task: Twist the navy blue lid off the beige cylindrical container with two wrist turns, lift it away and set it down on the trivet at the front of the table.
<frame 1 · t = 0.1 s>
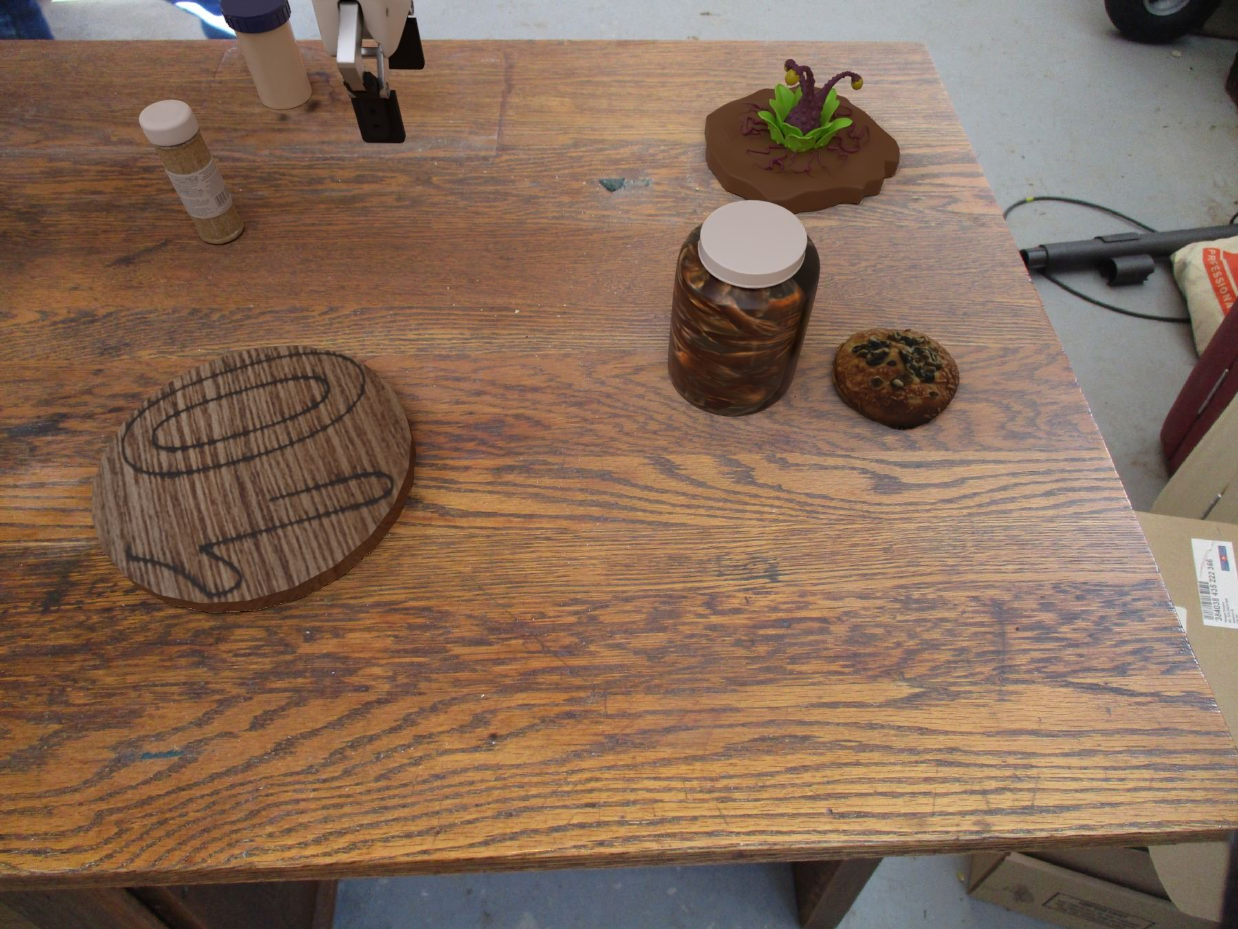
hand: (395, 102, 65), 19 cm above the table, tool pointing down, fingers open, 9 cm apart
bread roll: (890, 382, 75), on the table
spice bottle: (223, 233, 85), on the table
jar: (730, 366, 76), on the table
trivet: (264, 475, 69), on the table
lid: (254, 2, 90), point 11 cm above the table, screwed on, not yet turned
beige cylindrical container: (286, 94, 99), on the table
plant: (792, 158, 93), on the table
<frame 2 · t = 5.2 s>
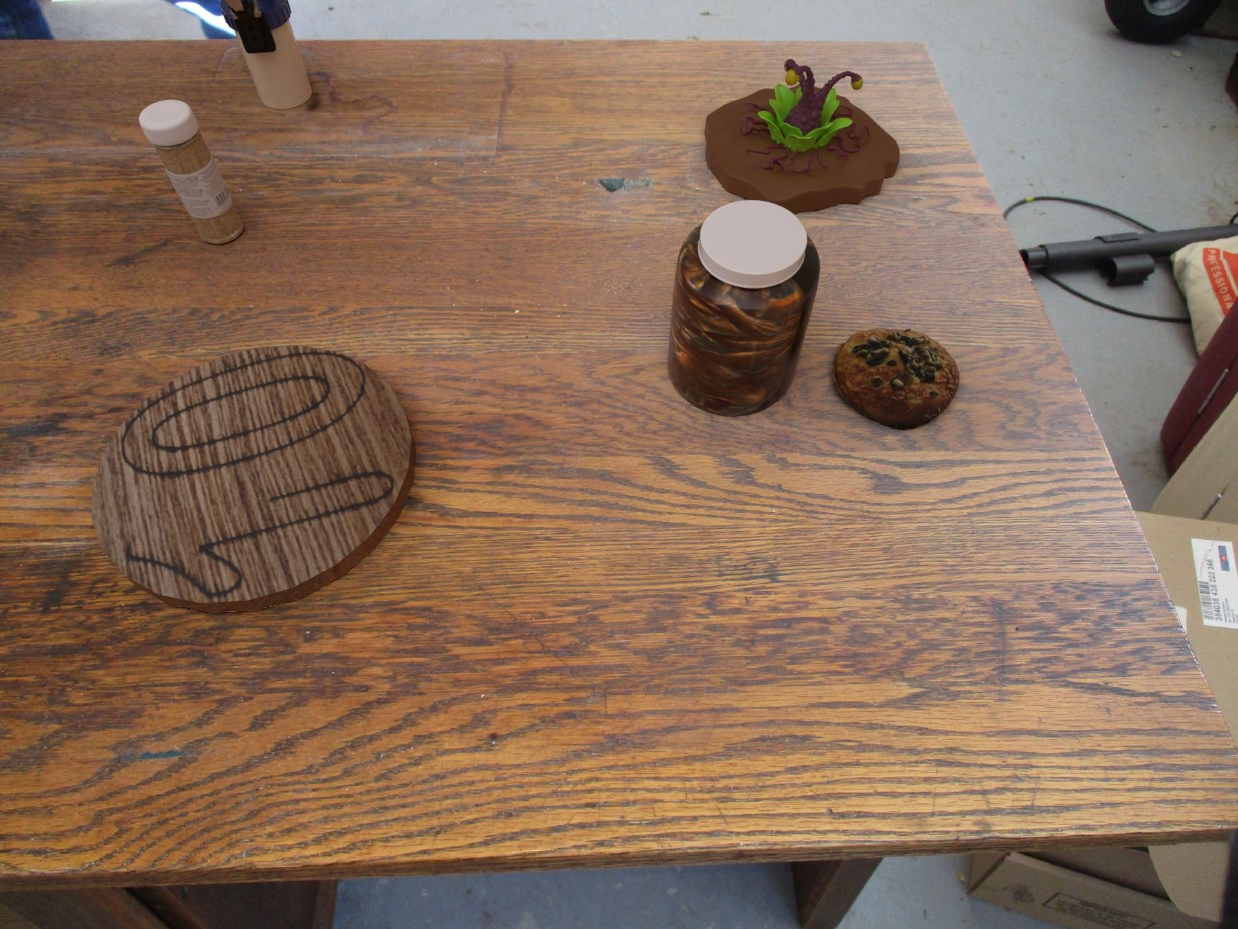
hand: (264, 31, 92), 8 cm above the table, tool pointing down, fingers closed on lid, 6 cm apart
lid: (254, 2, 90), point 11 cm above the table, screwed on, not yet turned, touching gripper
everything else where it was.
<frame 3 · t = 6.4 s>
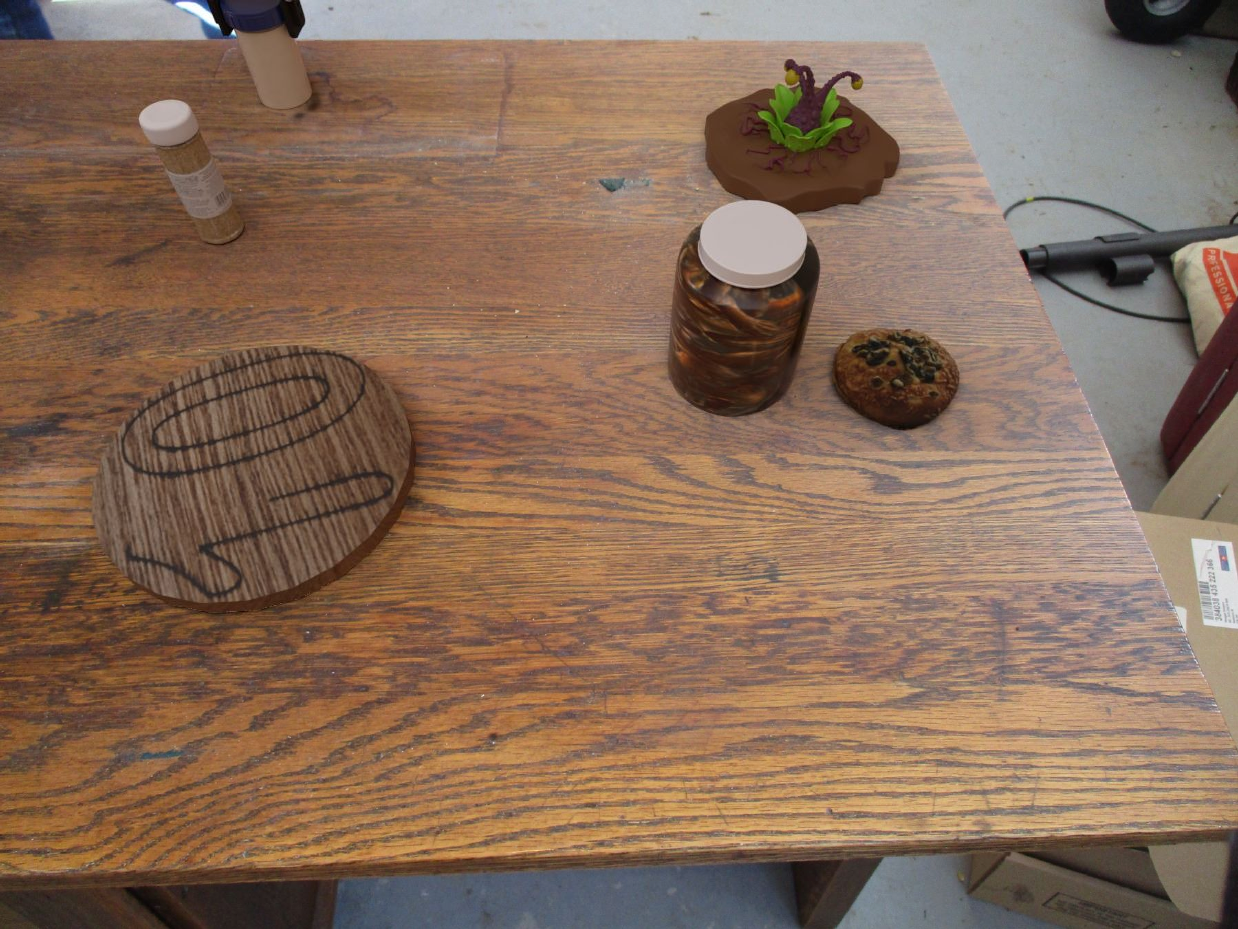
hand: (263, 29, 92), 8 cm above the table, tool pointing down, fingers closed on lid, 6 cm apart
lid: (253, 0, 90), point 11 cm above the table, turned 78° so far, risen 0.2 cm, still on its thread, touching gripper
everything else where it was.
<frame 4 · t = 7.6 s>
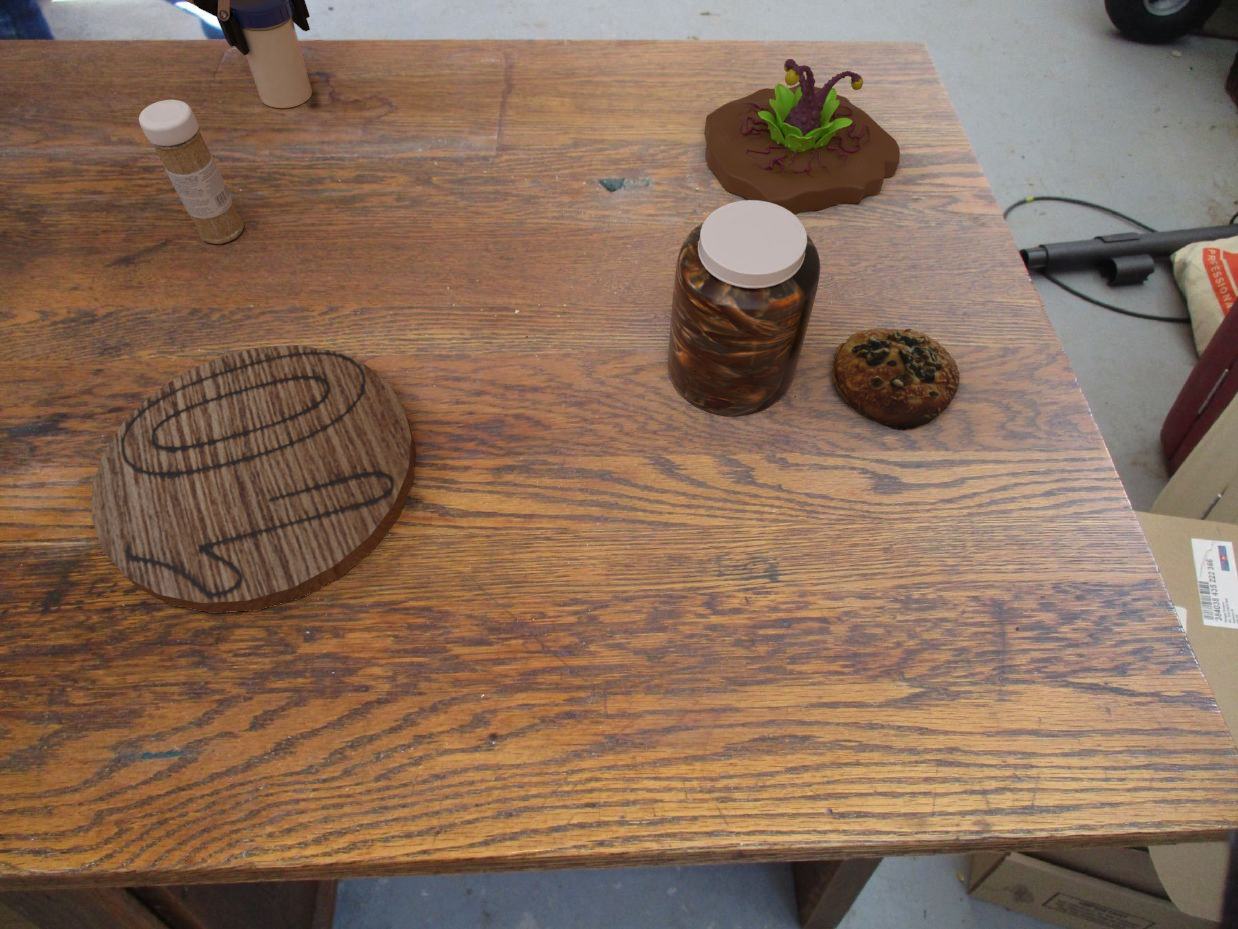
hand: (271, 36, 93), 7 cm above the table, tool pointing down, fingers closed on lid, 6 cm apart
beige cylindrical container: (286, 93, 99), on the table, touching gripper
everything else where it was.
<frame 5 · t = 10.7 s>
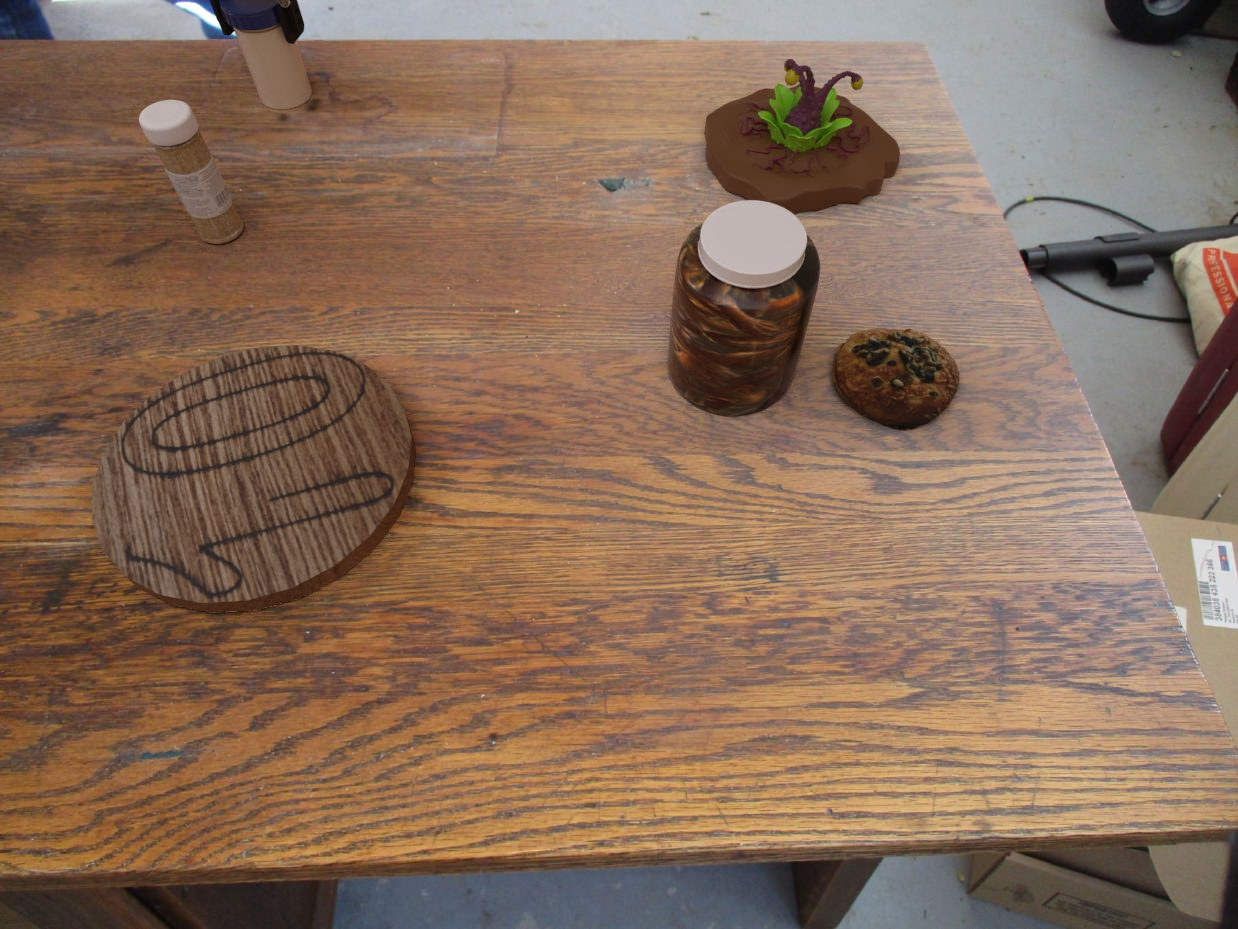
hand: (264, 31, 92), 8 cm above the table, tool pointing down, fingers closed on lid, 6 cm apart
beige cylindrical container: (286, 94, 99), on the table
everything else where it was.
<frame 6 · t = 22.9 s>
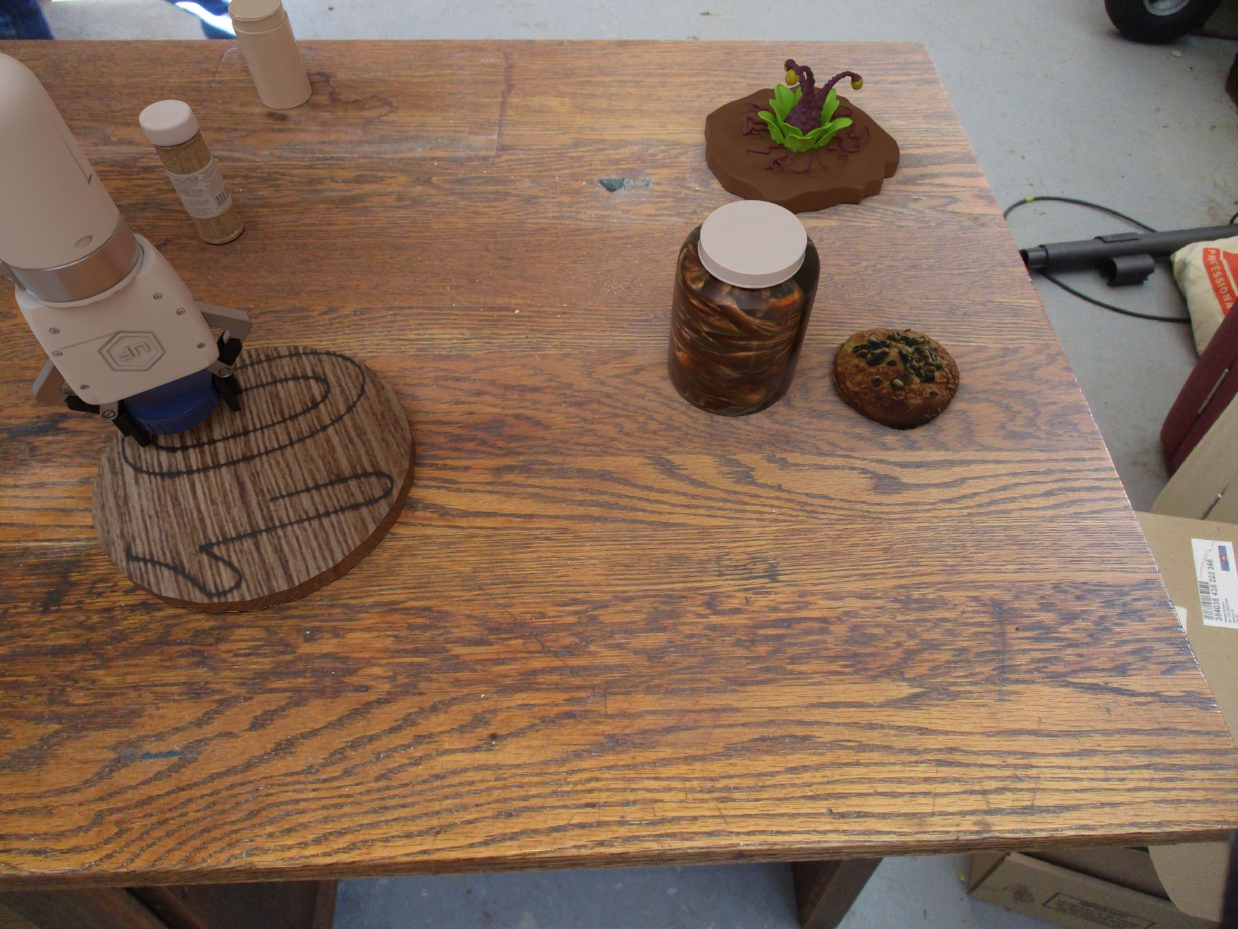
hand: (188, 415, 69), 2 cm above the table, tool pointing down, fingers closed on lid, 6 cm apart
trivet: (264, 475, 69), on the table, touching gripper
lid: (169, 389, 67), point 6 cm above the table, off its thread, touching gripper
everything else where it was.
when the fingers open (3 cm above the table, at t = 29.5 s): lid drops 3 cm, resting on trivet.
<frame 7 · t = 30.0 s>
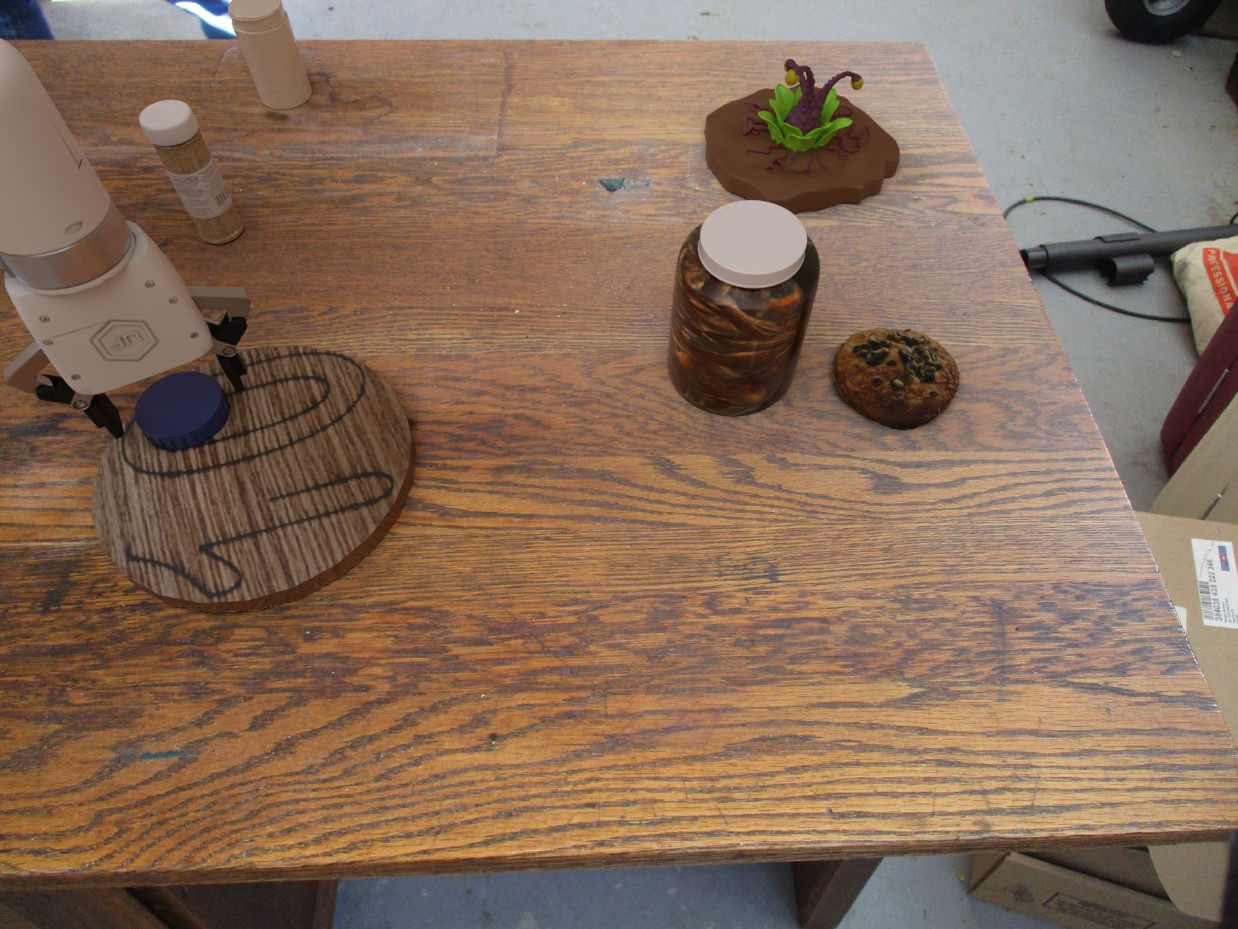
hand: (178, 402, 68), 4 cm above the table, tool pointing down, fingers open, 9 cm apart
trivet: (264, 475, 69), on the table, touching lid
lid: (180, 405, 68), point 3 cm above the table, off its thread, touching trivet
everything else where it was.
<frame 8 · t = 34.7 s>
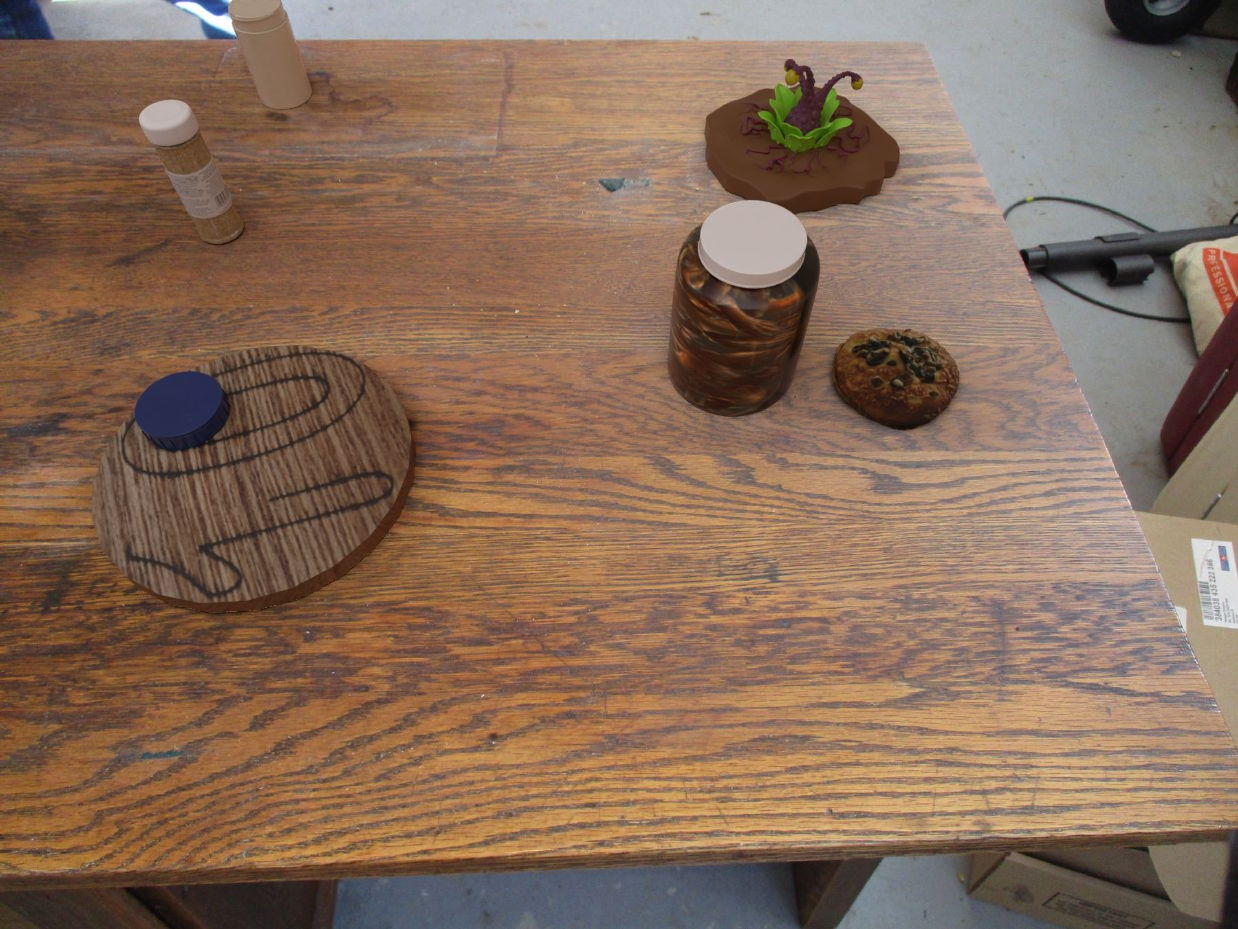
nothing on the table moved.
at the end: lid came off its thread; lid inside the target area on the trivet (8.1 cm from its centre), point 3.6 cm above the trivet's base; the gripper is holding nothing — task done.
